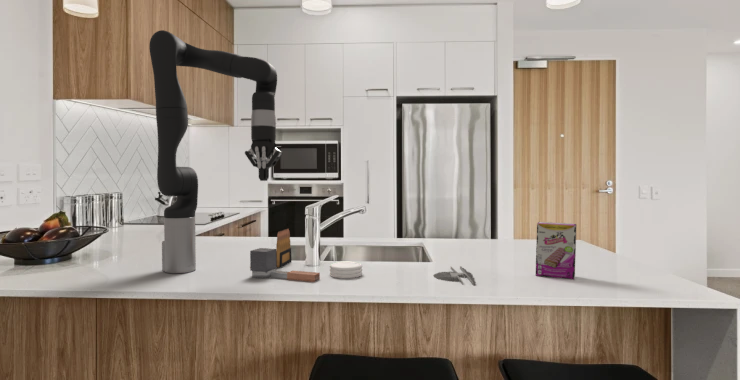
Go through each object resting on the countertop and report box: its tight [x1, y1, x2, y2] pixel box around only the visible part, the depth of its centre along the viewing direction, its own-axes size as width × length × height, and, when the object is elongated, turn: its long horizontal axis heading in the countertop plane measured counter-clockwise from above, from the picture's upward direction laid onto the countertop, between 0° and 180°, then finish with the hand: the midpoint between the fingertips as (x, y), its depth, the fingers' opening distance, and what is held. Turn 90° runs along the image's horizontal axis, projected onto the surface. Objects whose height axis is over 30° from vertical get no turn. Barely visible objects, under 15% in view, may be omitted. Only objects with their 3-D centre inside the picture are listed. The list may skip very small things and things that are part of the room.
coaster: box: [329, 261, 363, 279], centre depth 143 cm, size 10×10×4 cm
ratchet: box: [251, 268, 321, 283], centre depth 139 cm, size 22×7×7 cm, turn 71°
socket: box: [249, 247, 277, 272], centre depth 141 cm, size 6×6×6 cm
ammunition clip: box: [275, 228, 292, 269], centre depth 158 cm, size 11×2×12 cm, turn 170°
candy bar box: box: [535, 221, 577, 280], centre depth 141 cm, size 11×5×16 cm, turn 65°
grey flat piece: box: [433, 266, 476, 286], centre depth 142 cm, size 28×28×1 cm
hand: (263, 180), depth 146 cm, fingers closed
